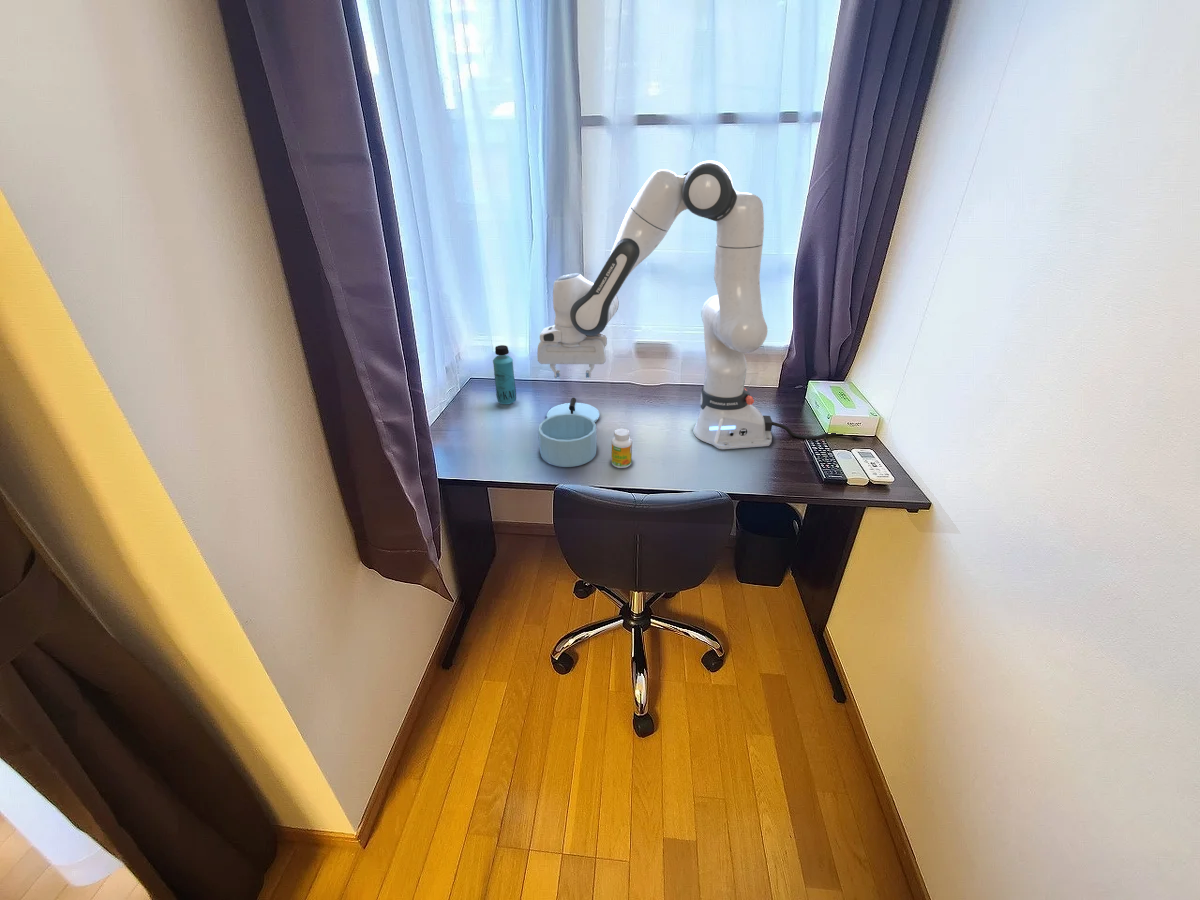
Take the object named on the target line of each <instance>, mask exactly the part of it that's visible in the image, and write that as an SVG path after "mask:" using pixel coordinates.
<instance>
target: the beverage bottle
mask: <svg viewBox="0 0 1200 900" xmlns="http://www.w3.org/2000/svg"><path fill="white" fill-rule="evenodd" d="M494 352H495V353H494V354H495V355H496V356H495V357H494V358H493V360H492V363H493V364H492V365H493V376H494V384H495V395H496V400H497V402H498V403H499V404H501V405H510V404H513V403H515V402H516V401H517V391H516V390H517V389H516V382H515V381H516V379H515V371H514V360H513V358H512V357H511V356H509V353H510V352H509V347H508V345H505V344H500V345H497V346H495V348H494Z"/></svg>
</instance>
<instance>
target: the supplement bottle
mask: <svg viewBox="0 0 1200 900" xmlns="http://www.w3.org/2000/svg"><path fill="white" fill-rule="evenodd" d="M630 435H631V433H630V430H629V429H627V428H623V427H621V428H620V427H619V428H616V429H615V430H614V435H613V436H614V437H612V439H611V455H610V456H611V465H612V466H613V467H615V468H616V469H617V468H618V469H626V468H628V467H630V466H631V465H632V454H633V453H632V452H633V439H632V438H631V437H630Z"/></svg>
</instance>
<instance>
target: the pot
mask: <svg viewBox="0 0 1200 900" xmlns="http://www.w3.org/2000/svg"><path fill="white" fill-rule="evenodd" d="M537 433H538V446H539V453H540V457H541V458H542V460H543V461H544V462H545V463H548V464H549V465H552V466H556V467H561V468H572V467H578V466H582V465H584V464H585V465H586V464H587V463H589V462H591V461H592V460H593V459H594V458H595V457H596V455H597V449H598V448H597V447H598V446H597V444H598V443H597V424H596V422H594V421H593V420H592V419H590V418H588V417H586V416H583V415H578V414H560V415H554V416H552V417H549V418H547V417H546V418H544V419H543V421H540V423H539V425H538V428H537Z"/></svg>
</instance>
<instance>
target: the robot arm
mask: <svg viewBox="0 0 1200 900" xmlns="http://www.w3.org/2000/svg"><path fill="white" fill-rule="evenodd" d="M732 179H733V178H732V175H731V173H730V170H729V169H728V168H727V167H726V166H725V165H724V164H723V163H722V162H719V161H716V160H704V161H702V162H699V163H697V164H696V165H695V166H693V167H692V168H691V169H690V170H688V171H687V172H686V173H684V174H682V175H679V174H677V173H676V172H674V171H672V170H670V169H658V170H655V171H654V172H653V173H652V174H651V175H650V176H649V177H648V179H647V180H646V181H645V182H644V184H643V185H642V186H641V188H640V189H639V191H638V192H637V194H636V196H635V197H634V199H633V201H632V202H631V204H630V205H629V208H628V210H627V211H626V213H625V215H624V219H623V220H622V223H621V225H620V228H619V231H618V233H617V235H616V238H615V241H614V242H613V243H614V244H613V246H612V248H611V251H610V253H609V256H608V257H607V260H606V261H605V264H604V265H603V267H602V269H600V272H599V274H598V275H597V277H596V279H595V280H594V282H592V281H590V280H588V279H587V278H585V277H584V276H583V275H582V274H581V273H578V272H571V273H565V274H563V275H560V276H559V277H557V278H556V279H555V280H554V282H553V285H552V286H553V287H552V301H553V302H552V304H553V305H552V306H553V310H554V314H555V316H554V324H553V325H549V326H546V327H544V328H542V330H541V332H540V333H539V343H538V345H537V352H536V354H537V356H536V357H537V358H536V359H537V362H538V363H539V364H541V365H549V368H550V369H551V370H552V372H553V373H554V374H553V375H554V378H555V379H556V378H561V370H560V369H557V367H556V365H588V367H589V369H588V370H585V378H586V379H591V377H592V372H593V370H594V368H595V365H604V364H605V363H606V361H607V352H606V351H607V350H606V347H607V344H608V340H607V339H608V338H607V335H605V334H604V333H602V332H603V331H604V330H605V328H606V327H607V325H608V324H609V323H610V321H612V319H613V317H614V316H615V315H616V313H617V312H618V310H619V306H620V305H619V304H620V303H619V302H620V301H619V298H618V295H617V294H618V293H619V291H620V290H621V288H622V286H623V284H624V283H625V281H626V279H628V276H630V274H631V273H633V271H634V270H635V269H636V267H638V266H639V265H640V264H641V263H642V262H643V261H645V260H646V258H648V257H649V256H650V255H651V254H652V253H653V252H654V251H655V250H656V249H657V248H658V246H659V245H660V244H661V243H662V241H663V240H664V238H665V237H666V235H667V234H668V232H669V230H670V229H671V227H672V225H673V223H674V222H675V220H676V219H677V217H678V216H679V215H681V213H682V212H684V211H686V210H688V211H689V212H690V213H692V214H693V215H695V216H697V217H701V218H704V219H707V220H710V221H714V222H715V223H716V238H715V239H716V240H715V252H714V253H715V254H714V266H713V268H714V269H713V281H714V283H715V286H716V292H717V294H713V295H712V296H710V297H709V298H707V299H706V300H705V301H704V303H703V305H702V307H701V310H700V317H701V321H702V325H703V335H704V351H705V369H704V381H703V386H702V387H701V392H700V399H699V406H700V408H699V412H698V416H697V419H696V421H695V422H696V423H695V425H694V427H693V429H692V430H693V431H692V432H693V435H694V436H695V438H697V439H698V440H700V441H702V442H704V443H707V444H710V445H711V446H713V447H715V448H717V449H718V450H733V449H745V448H746V449H748V448H760V447H761V448H763V447H770V445H771V444H772V441H773V435H772V430H773V429H772V428H773V426H774V427H778V428H781V429H783V430H785V431H786V432H787V434H788V435H790V437H791V436H792V437H794V438H796V439H801V440H820V439H824V438H826V437H829V436H844V435H843V434H836V433H831V434H828V432H825V433H822V434H819V435H803V434H798V433H795V432H793V431H792V430H791V428H789V427H788V426H786V425H785V424H783V423H779V422H775V421H773V420H772V417H771V415H763V413H762V412H761V410H759V408H757V407H756V406H754V405H753V404H754V403H755V399H754V397H753V396H751V393H750V392H749V391H748V390H747V389H746V387H745V383H746V377H747V371H748V370H747V369H748V362H747V358H746V355H745V354H750V353H752V352H755V351H757V350H758V349H759V348H761V347H762V345H763V344H764V343H765V341H766V339H767V337H768V325H767V323H766V320H765V317H764V314H763V304H762V294H761V281H760V280H761V263H762V257H763V256H762V255H763V246H764V233H765V215H764V214H765V213H764V204H763V203H764V202H762V200H761V198H760V197H759V196H758V195H756V194H754V193H751V192H742V191H741V192H740V191H737V190H736V189H735V187H734V184H733V180H732ZM845 436H846V437H850V438H852V439H853V440H854V441H859V438H858V436H856V437H852V436H848V435H845Z"/></svg>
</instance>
